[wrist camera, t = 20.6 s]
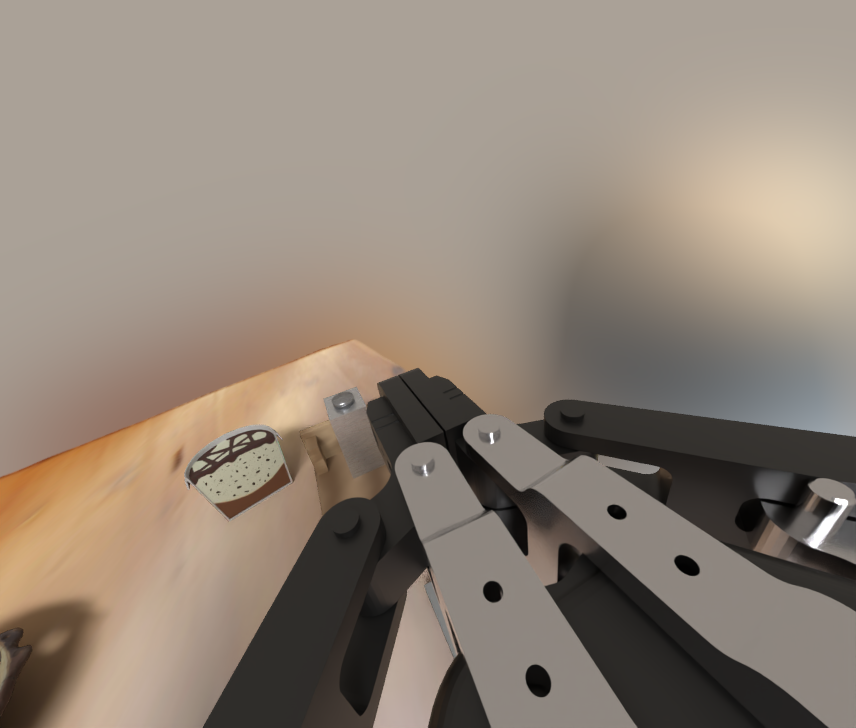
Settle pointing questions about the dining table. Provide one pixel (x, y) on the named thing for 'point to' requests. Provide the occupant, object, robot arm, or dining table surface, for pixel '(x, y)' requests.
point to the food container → (239, 470)
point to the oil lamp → (11, 663)
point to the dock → (338, 469)
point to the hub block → (353, 431)
